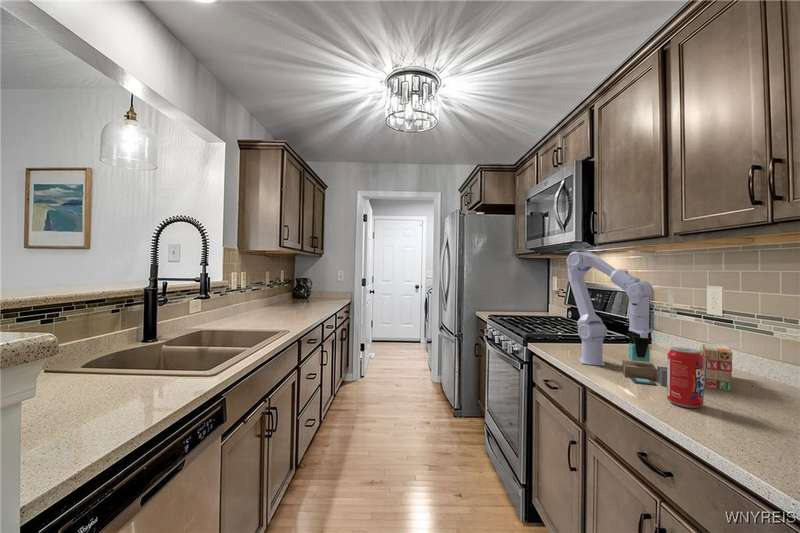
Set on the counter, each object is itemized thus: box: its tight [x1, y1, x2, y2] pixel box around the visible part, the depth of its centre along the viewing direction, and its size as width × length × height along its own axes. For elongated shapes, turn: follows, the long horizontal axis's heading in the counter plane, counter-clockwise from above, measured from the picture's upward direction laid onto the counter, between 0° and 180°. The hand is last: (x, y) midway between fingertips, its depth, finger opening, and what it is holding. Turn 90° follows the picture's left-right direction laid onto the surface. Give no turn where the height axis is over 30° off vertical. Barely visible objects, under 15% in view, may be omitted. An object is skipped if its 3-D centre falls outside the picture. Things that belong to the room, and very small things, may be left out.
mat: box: [630, 377, 658, 387], centre depth 118 cm, size 6×6×1 cm
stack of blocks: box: [699, 342, 733, 392], centre depth 120 cm, size 21×6×12 cm, turn 144°
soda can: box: [666, 346, 705, 409], centre depth 99 cm, size 8×8×15 cm
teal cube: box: [628, 342, 651, 363], centre depth 126 cm, size 5×5×5 cm
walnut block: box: [621, 359, 657, 382], centre depth 126 cm, size 9×9×4 cm
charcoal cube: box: [656, 366, 667, 387], centre depth 116 cm, size 5×5×5 cm
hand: (638, 355), depth 126 cm, fingers closed on teal cube, 5 cm apart
